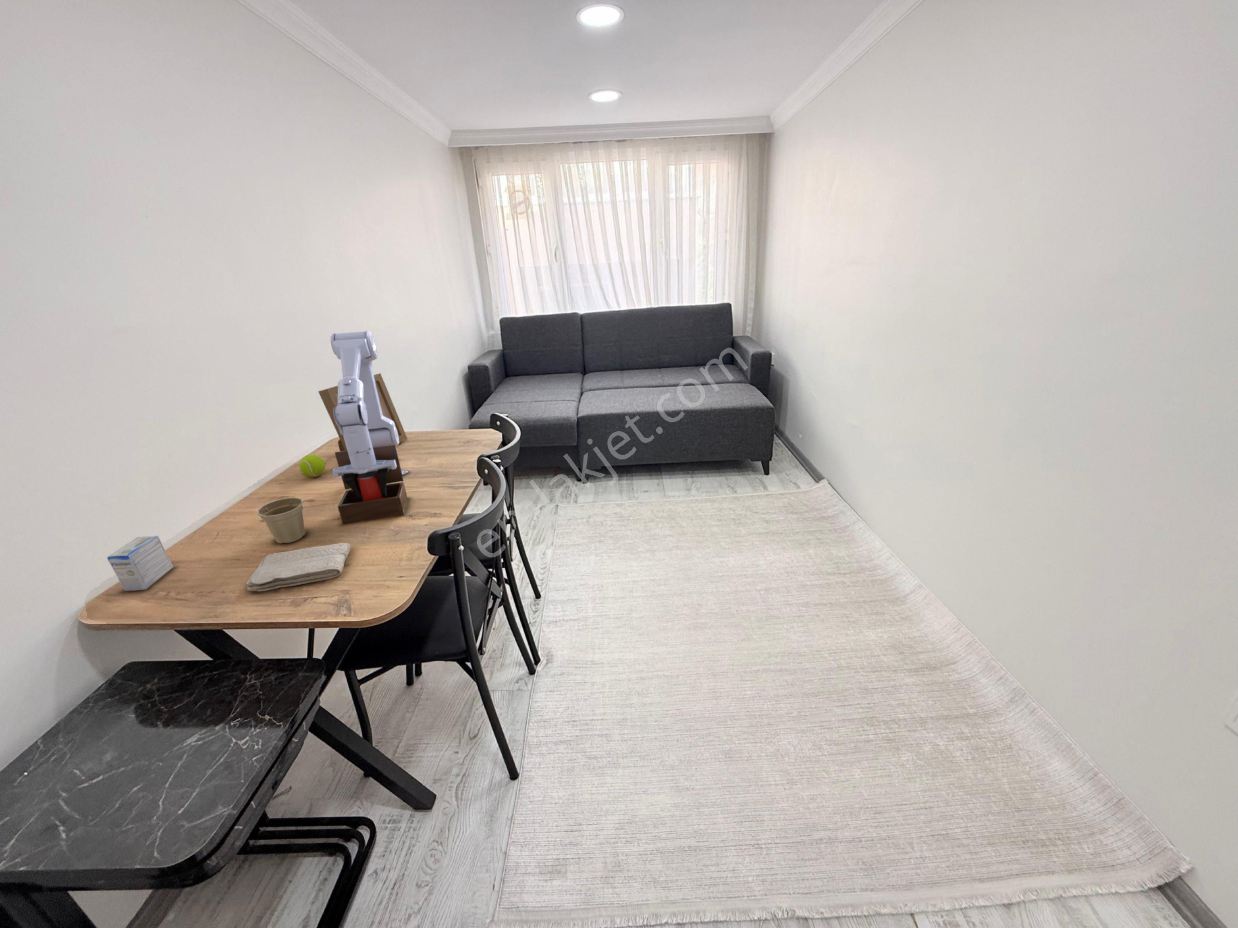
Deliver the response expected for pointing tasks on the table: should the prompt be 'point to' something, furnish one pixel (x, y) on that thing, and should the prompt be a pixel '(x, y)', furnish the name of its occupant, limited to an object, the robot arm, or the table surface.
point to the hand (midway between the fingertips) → (373, 496)
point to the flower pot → (284, 519)
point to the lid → (380, 454)
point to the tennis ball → (312, 465)
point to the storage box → (373, 505)
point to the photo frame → (386, 404)
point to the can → (369, 486)
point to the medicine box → (140, 563)
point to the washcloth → (299, 567)
